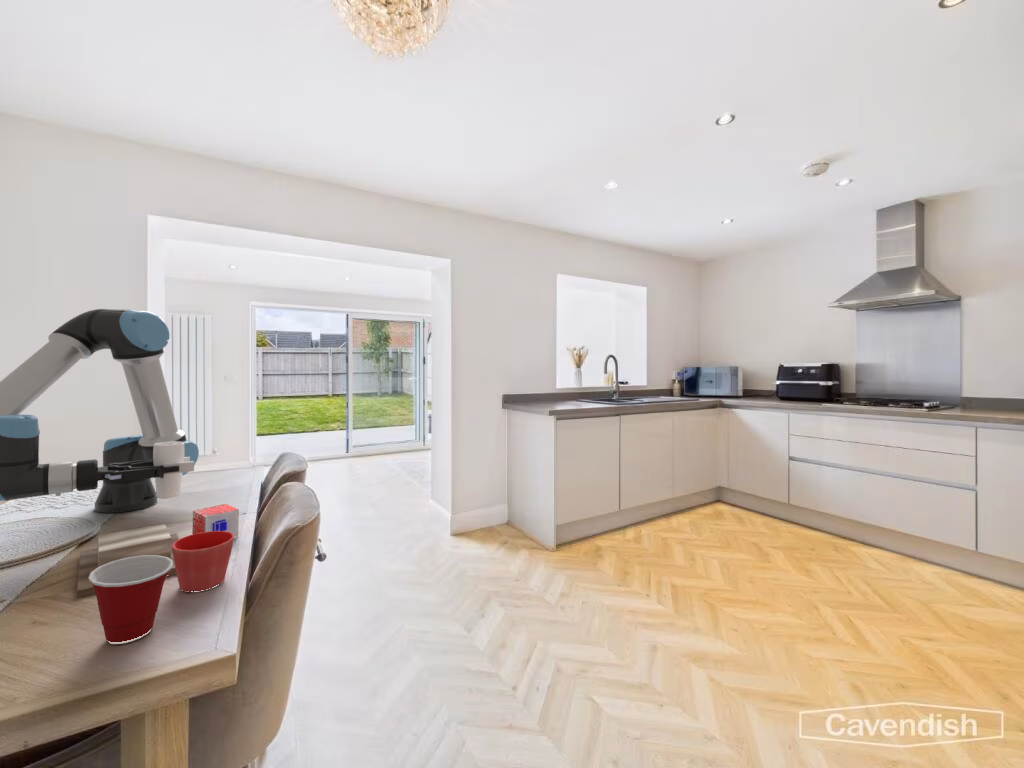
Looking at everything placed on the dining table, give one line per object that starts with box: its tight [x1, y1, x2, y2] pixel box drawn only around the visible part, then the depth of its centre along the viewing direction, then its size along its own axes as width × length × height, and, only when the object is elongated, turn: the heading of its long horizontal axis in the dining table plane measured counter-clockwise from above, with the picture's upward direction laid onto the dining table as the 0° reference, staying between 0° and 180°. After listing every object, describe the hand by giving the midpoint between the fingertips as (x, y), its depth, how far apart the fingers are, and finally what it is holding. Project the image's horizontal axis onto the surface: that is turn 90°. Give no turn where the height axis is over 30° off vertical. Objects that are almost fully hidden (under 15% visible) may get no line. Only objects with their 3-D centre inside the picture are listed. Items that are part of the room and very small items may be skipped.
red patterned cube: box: [191, 503, 240, 539], centre depth 113 cm, size 8×8×8 cm
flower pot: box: [172, 531, 235, 592], centre depth 89 cm, size 11×11×10 cm
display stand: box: [76, 523, 180, 599], centre depth 97 cm, size 24×18×6 cm
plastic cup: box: [89, 555, 173, 642], centre depth 72 cm, size 11×11×12 cm
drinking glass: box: [153, 441, 185, 500], centre depth 116 cm, size 7×7×15 cm
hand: (191, 463), depth 119 cm, fingers closed on drinking glass, 6 cm apart
